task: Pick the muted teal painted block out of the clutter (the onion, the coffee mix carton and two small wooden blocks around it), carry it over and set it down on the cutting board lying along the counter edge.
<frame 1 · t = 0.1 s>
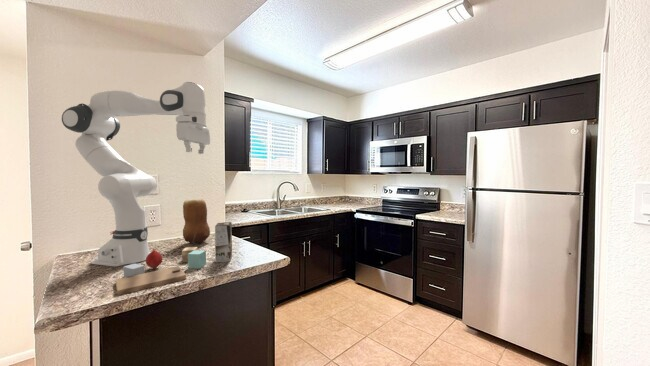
hand: (195, 153, 116), 48 cm above the table, fingers open, 8 cm apart
board: (151, 281, 96), on the table
onion: (154, 269, 109), on the table
coffee box: (224, 259, 121), on the table
butternut squash: (196, 243, 147), on the table
teal block: (197, 266, 112), on the table
slate block: (134, 276, 101), on the table
beech block: (190, 259, 120), on the table
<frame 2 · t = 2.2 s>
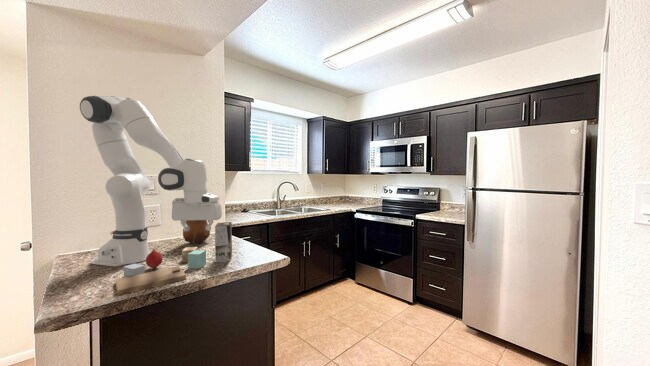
hand: (197, 230, 111), 15 cm above the table, fingers open, 8 cm apart
nothing on the table moved.
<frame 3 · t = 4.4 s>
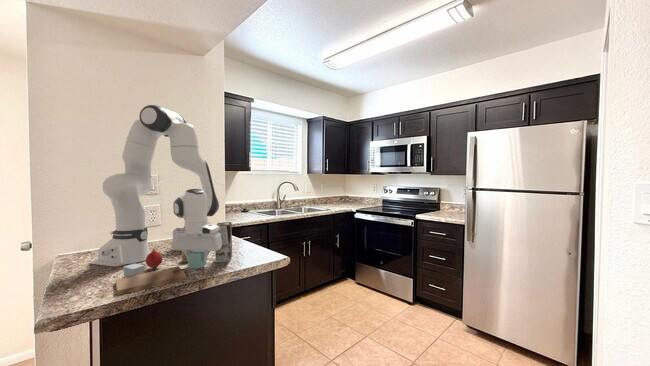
hand: (197, 260, 112), 2 cm above the table, fingers closed on teal block, 5 cm apart
teal block: (197, 266, 112), on the table, touching gripper
everything else where it was.
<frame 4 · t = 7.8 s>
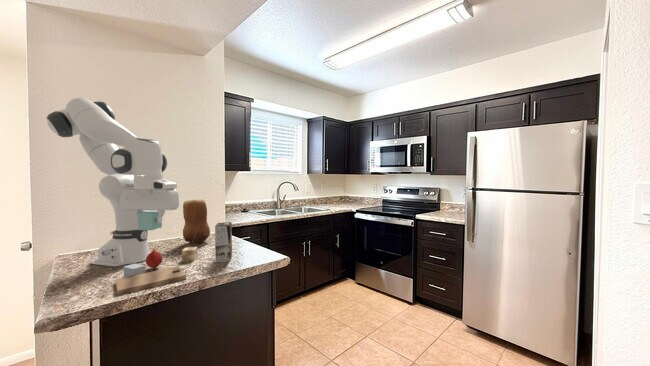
hand: (150, 222, 95), 21 cm above the table, fingers closed on teal block, 5 cm apart
teal block: (150, 228, 96), point 19 cm above the table, touching gripper
everything else where it was.
when the fingers open (5 cm above the table, at t = 11.5 s): teal block stays where it is, resting on board.
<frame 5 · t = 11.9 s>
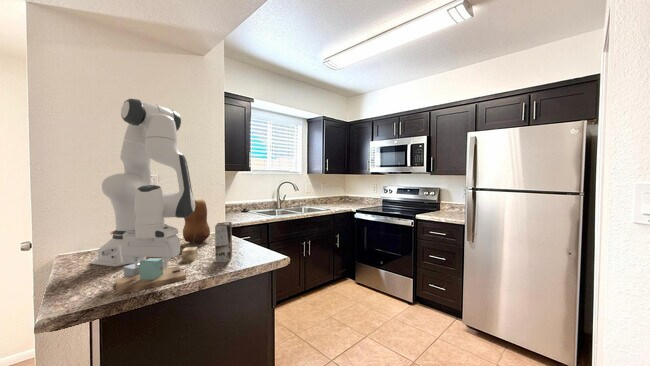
hand: (151, 268, 96), 5 cm above the table, fingers open, 8 cm apart
teal block: (151, 276, 96), point 1 cm above the table, touching board
everything else where it was.
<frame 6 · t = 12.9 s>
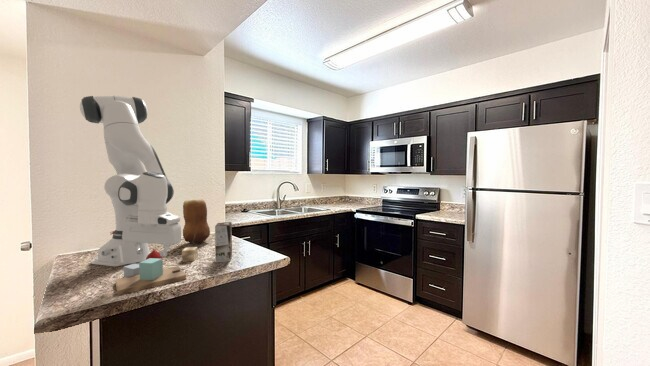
hand: (151, 254, 97), 9 cm above the table, fingers open, 8 cm apart
nothing on the table moved.
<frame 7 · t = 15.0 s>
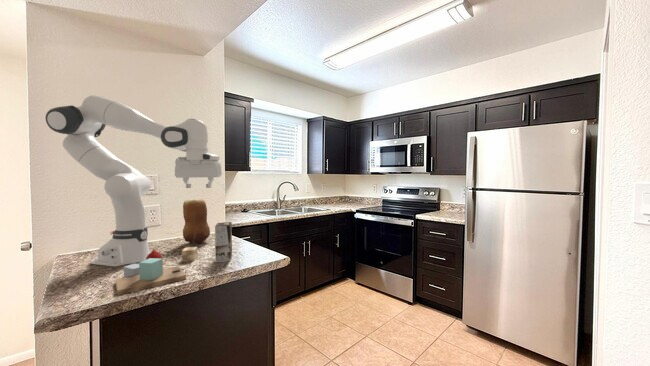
hand: (198, 187, 118), 33 cm above the table, fingers open, 8 cm apart
nothing on the table moved.
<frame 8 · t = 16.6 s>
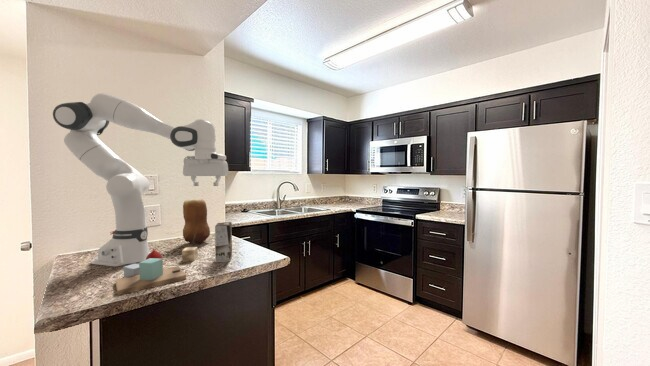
hand: (205, 186, 122), 33 cm above the table, fingers open, 8 cm apart
nothing on the table moved.
at the end: teal block inside the target area on the board (0.0 cm from its centre), point 1.5 cm above the board's base; teal block tilted 0°; the gripper is holding nothing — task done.
